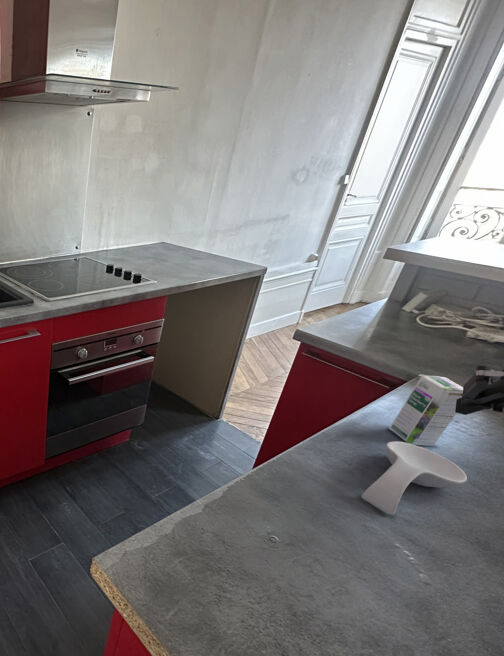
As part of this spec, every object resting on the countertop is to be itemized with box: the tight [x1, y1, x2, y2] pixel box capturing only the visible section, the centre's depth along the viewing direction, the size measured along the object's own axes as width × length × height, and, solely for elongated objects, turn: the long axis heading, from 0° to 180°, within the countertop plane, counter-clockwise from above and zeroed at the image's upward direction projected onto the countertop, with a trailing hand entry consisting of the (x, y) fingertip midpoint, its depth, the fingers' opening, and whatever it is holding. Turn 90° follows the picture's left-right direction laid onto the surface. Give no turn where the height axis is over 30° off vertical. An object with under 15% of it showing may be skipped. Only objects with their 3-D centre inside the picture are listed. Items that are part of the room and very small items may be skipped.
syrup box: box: [388, 375, 463, 447], centre depth 88 cm, size 6×6×14 cm
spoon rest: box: [360, 440, 468, 516], centre depth 77 cm, size 24×12×7 cm, turn 121°
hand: (461, 407), depth 78 cm, fingers closed
